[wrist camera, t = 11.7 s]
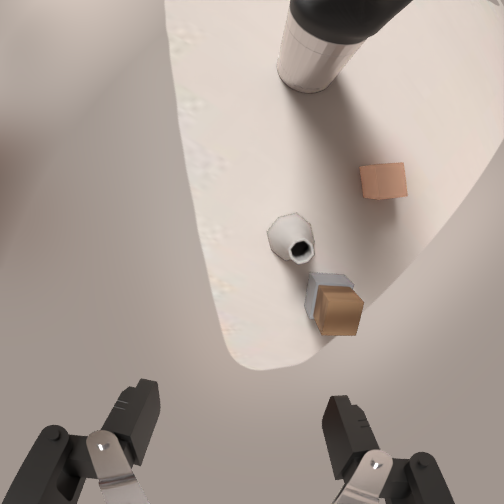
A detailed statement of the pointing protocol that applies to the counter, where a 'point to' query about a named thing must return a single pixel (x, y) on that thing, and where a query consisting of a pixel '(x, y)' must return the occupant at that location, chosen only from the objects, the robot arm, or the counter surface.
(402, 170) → the terracotta cube
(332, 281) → the grey base block
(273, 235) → the flask
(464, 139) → the counter surface
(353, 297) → the walnut cube
